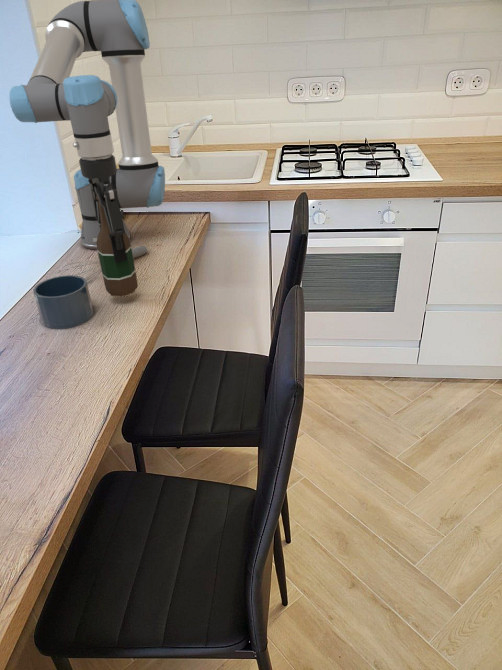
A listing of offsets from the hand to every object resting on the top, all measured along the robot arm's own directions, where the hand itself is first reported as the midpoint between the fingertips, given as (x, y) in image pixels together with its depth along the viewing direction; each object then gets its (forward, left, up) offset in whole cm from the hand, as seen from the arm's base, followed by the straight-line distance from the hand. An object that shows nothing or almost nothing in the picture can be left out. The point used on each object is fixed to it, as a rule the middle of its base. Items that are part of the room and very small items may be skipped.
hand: (115, 255), depth 124 cm
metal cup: (+10, -10, -12) cm, 18 cm away
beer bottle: (0, 0, -9) cm, 9 cm away
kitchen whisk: (-16, -13, -12) cm, 24 cm away
